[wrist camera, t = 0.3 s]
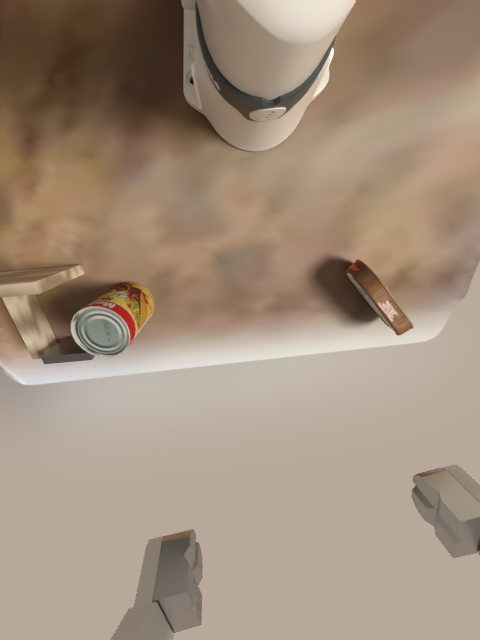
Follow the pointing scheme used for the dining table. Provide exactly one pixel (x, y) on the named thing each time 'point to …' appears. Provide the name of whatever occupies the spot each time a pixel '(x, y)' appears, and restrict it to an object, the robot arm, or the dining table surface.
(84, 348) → the canned food
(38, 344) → the shelf wall
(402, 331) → the tin
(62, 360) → the bookend
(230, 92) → the robot arm
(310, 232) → the dining table surface
